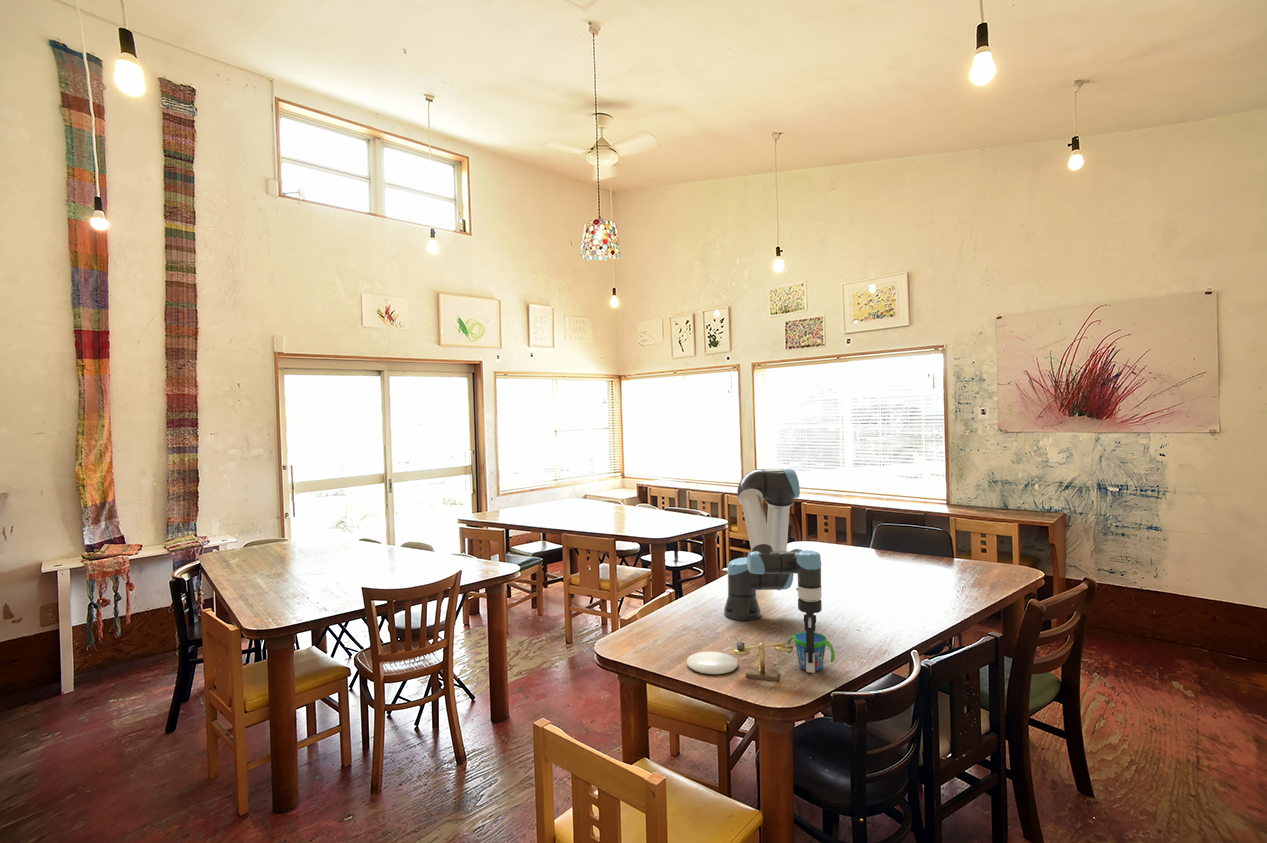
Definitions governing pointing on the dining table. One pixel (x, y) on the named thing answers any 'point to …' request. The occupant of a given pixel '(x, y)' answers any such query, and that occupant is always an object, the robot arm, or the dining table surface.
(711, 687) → the dining table surface
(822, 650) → the snack cup
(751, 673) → the balance
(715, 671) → the dish
